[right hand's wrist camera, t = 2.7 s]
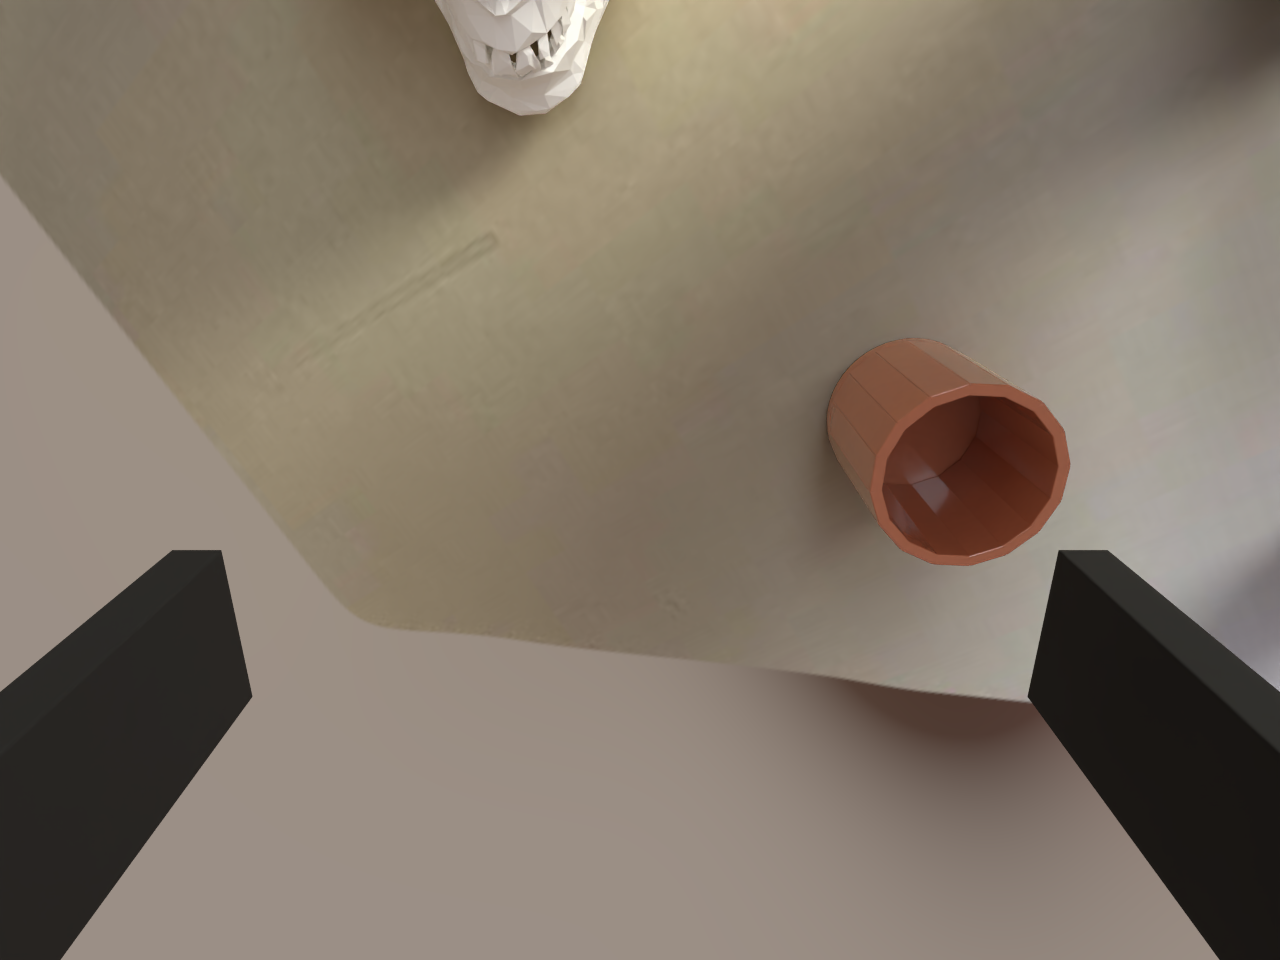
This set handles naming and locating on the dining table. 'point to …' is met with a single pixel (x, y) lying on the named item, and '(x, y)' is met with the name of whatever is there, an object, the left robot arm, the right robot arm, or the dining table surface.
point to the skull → (524, 48)
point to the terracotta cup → (946, 451)
